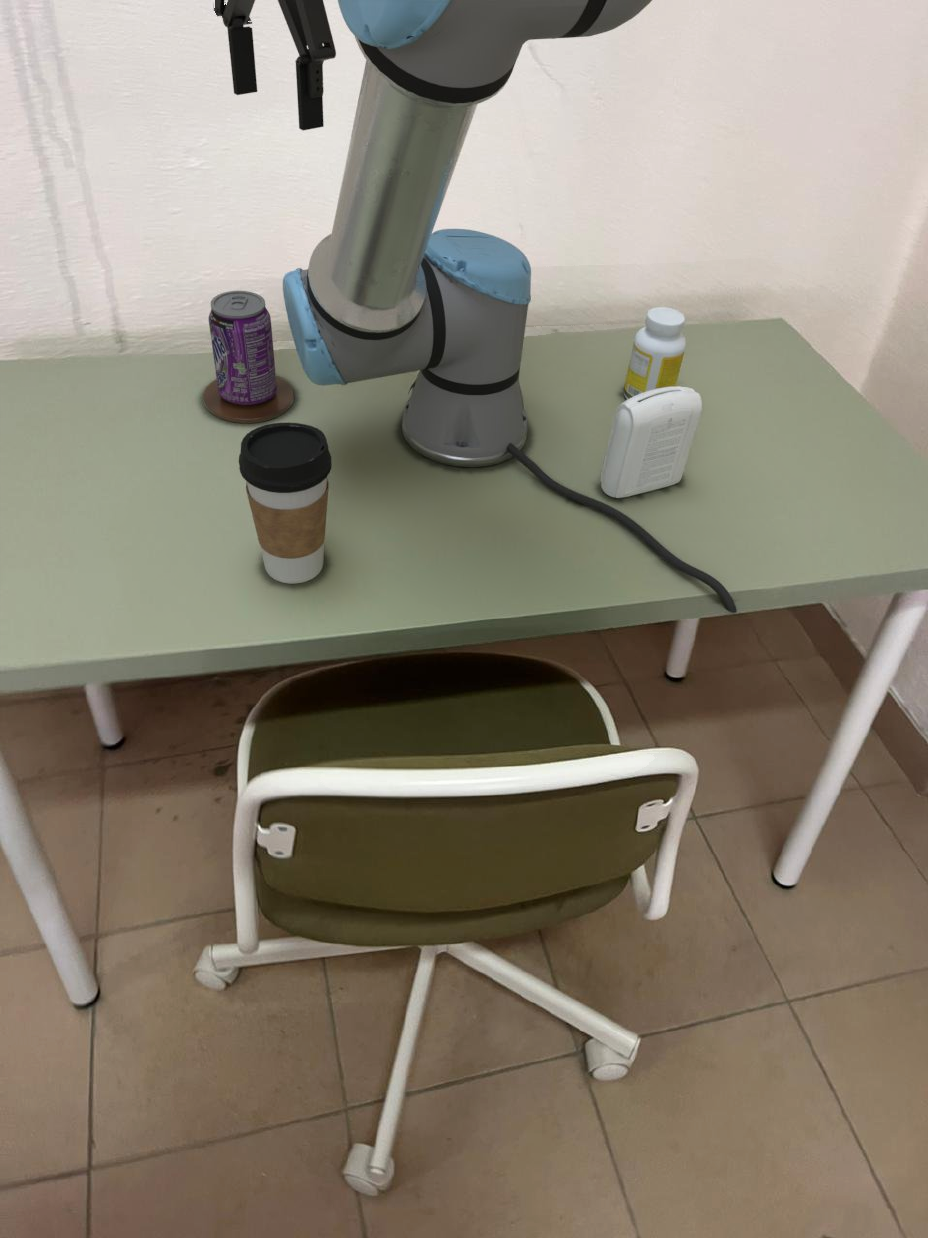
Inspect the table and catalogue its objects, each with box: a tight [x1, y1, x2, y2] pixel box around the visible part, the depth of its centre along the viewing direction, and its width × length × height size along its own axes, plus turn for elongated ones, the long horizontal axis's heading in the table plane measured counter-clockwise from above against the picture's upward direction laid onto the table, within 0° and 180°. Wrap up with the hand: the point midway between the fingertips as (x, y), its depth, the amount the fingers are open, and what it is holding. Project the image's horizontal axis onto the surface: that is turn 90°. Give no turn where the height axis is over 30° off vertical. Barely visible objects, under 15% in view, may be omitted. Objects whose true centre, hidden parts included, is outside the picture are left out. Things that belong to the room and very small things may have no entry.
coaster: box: [202, 375, 295, 424], centre depth 113 cm, size 11×11×1 cm
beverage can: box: [208, 290, 277, 405], centre depth 109 cm, size 7×7×12 cm
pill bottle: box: [623, 306, 687, 400], centre depth 116 cm, size 6×6×12 cm
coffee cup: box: [238, 422, 333, 585], centre depth 88 cm, size 8×8×15 cm
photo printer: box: [599, 385, 703, 499], centre depth 102 cm, size 10×4×12 cm, turn 117°
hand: (277, 109), depth 104 cm, fingers open, 13 cm apart
